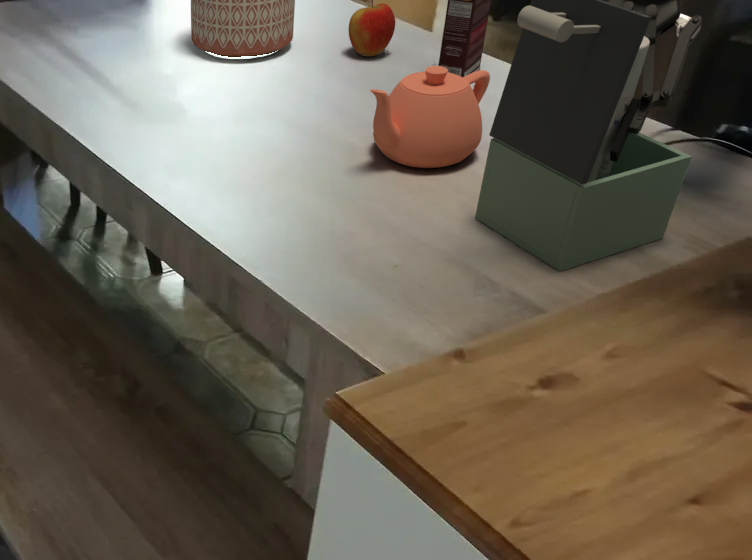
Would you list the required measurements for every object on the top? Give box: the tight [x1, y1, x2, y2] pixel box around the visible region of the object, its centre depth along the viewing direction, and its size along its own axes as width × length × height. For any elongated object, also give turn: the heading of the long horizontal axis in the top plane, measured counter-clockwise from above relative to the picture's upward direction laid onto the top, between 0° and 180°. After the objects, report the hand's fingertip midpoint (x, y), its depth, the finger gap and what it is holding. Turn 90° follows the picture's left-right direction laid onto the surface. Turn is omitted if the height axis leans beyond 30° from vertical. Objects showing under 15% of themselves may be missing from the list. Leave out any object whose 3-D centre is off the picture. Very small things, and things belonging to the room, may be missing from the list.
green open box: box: [474, 132, 692, 272], centre depth 116 cm, size 17×16×11 cm
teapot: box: [369, 65, 491, 169], centre depth 133 cm, size 22×15×12 cm
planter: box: [190, 0, 296, 57], centre depth 171 cm, size 19×19×15 cm
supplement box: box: [437, 0, 492, 77], centre depth 154 cm, size 9×5×16 cm, turn 144°
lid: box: [489, 0, 651, 184], centre depth 103 cm, size 18×16×7 cm
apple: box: [348, 0, 396, 57], centre depth 166 cm, size 8×8×10 cm
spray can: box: [587, 36, 650, 183], centre depth 110 cm, size 6×6×20 cm
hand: (581, 149), depth 109 cm, fingers closed on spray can, 6 cm apart
